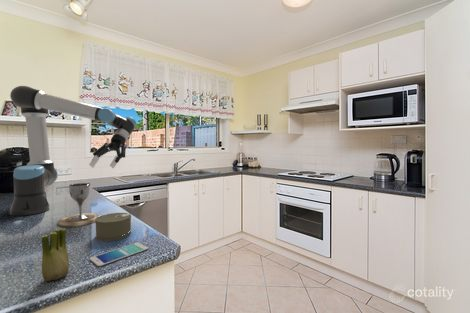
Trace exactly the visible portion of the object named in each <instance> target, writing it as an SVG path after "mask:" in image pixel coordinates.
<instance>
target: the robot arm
mask: <svg viewBox="0 0 470 313" xmlns="http://www.w3.org/2000/svg"><path fill="white" fill-rule="evenodd" d="M9 96H10V100H11V102H12V103H13V104H14V105H15V106H17V107H19V108H20V115H22V116H23V117H24V118H25V125H26V134H27V143H28V152H29V153H28V155H29V162H28V163H26V165H22V166H18V167H15V168H14V169H13V175H12V176H13V195H14V198H13V201H12V203H11V207H10V208H9V215H10V216H12V217H13V216H16V217H17V216H20V217H21V216H30V215H37V214H42V213H44V212H47V211H49V210H50V204H49V202H48V199H47V196H46V195H45V194H46V193H45V192H46V191H45V189H46V188H45V187H48V186H51V185H52V184H54V183H56V181H57V179H58V175H59V172H58V170H57V169H56V168H55V164H54V161H53V160H51V158H50V147H49V139H48V128H47V119H46V118H47V117H49V115H50V113H49V111H54V112H57V113H62V114H67V115H71V116H74V117H75V116H76V117H79V118H83V119H88V120H94V121H97V122H100V123H101V122H102V123H104V124H107V125H108V126H111V127H113V128H115V129H116V131H115V133H114V134H113V135H112V136H111V138H110V142H109V143H108V142H104V143H103V145H102V146H100V147H99V148H98V149H97V150H95V151H94V152H93V153H92V155H93V158H92V159H91V161H90V163H89V164H88V165H89V166H90V167H91V168H94V167H95V166H96V164H98V161H99V160H100V158H101V157H102V156H104V155H106V154H107V153H111V152H116V155H115V156H114V158H113V160H112V161H111V163H110V164H109V166H110V167H111V168H112V169H115V167H116V166H117V165H118V163H119V162H120V160H121V159H122V158H123V159H124V158H126V149H127V144H126V143H127V140H128V139H129V137H130V135H131V134H132V132H133V131H134V129H135V127H136V126H137V121H136V119H135V118H134V117H132V116H126V117H125V118H124V117H122V116H120V115H118V114H116V113H115V112H114V110H112V109H111V108H107V107H99V106H96V105H93V104H88V103H85V102H79V101H76V100H72V99H68V98H63V97H60V96H59V97H58V96H55V95H52V94H47V93H45V92H44V91H42V90H39V89H36V88H32V87H31V86H27V85H18V86H15V87H14V88H13V89H12V90H11V91H10V95H9Z"/></svg>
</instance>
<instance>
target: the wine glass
mask: <svg viewBox="0 0 470 313" xmlns="http://www.w3.org/2000/svg"><path fill="white" fill-rule="evenodd" d="M68 191H69V195H70V198H71V199H72V200H73V201H74V202H75V203H76V204H77V205H78V210H79V213H78V214H79V215H78V216H75V217H73V218H71V219H72V220H81V219H86V218H89V217H90V216H89V215H82V214H83V213H82V210H83V209H82V208H83V204H84V202H86V200H87V199H88V198H89V197H90V193H91V183H90V182H79V183H71V184H68Z"/></svg>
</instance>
